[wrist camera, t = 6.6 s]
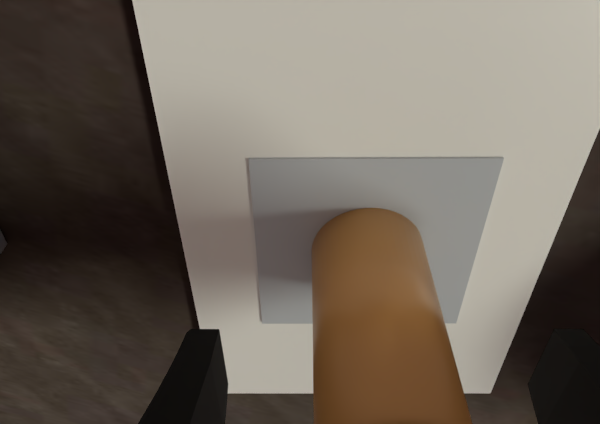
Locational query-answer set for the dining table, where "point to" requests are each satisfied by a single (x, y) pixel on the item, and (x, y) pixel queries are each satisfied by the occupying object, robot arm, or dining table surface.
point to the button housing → (2, 242)
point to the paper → (368, 155)
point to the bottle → (379, 326)
